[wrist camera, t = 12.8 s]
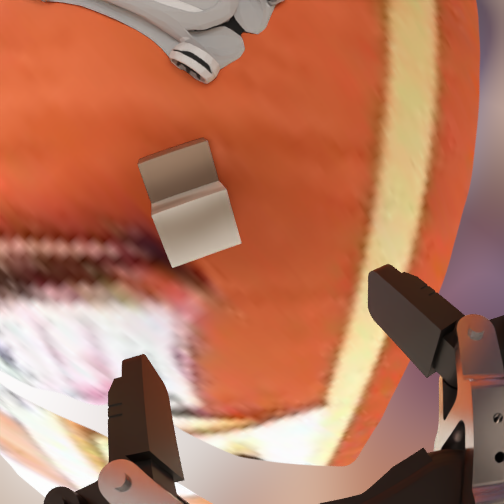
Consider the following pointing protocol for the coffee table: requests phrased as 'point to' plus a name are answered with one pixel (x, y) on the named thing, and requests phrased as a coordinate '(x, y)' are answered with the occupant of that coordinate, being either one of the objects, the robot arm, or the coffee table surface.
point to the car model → (191, 28)
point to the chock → (188, 202)
